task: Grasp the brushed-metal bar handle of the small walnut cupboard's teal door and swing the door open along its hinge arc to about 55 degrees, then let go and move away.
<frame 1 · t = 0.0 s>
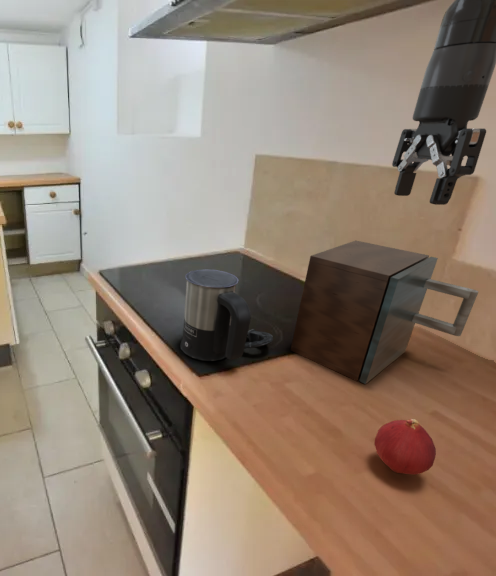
hand: (418, 199, 60), 29 cm above the worktop, tool pointing down, fingers open, 8 cm apart
door: (422, 326, 62), point 9 cm above the worktop, hinge at 0.0°
milk frother: (224, 348, 73), on the worktop
cupboard: (343, 349, 73), on the worktop
onion: (394, 471, 47), on the worktop
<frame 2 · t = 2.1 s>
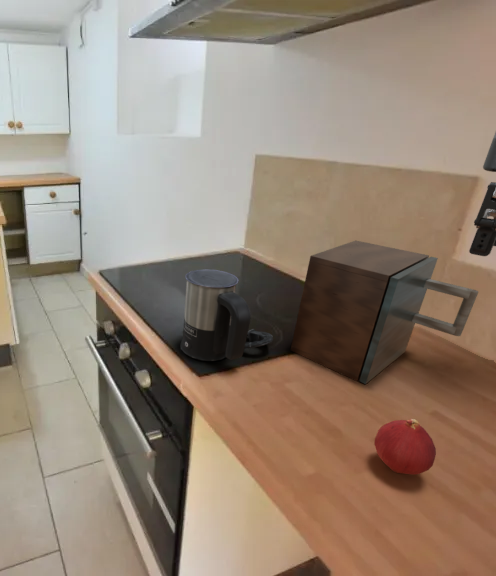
hand: (486, 249, 58), 22 cm above the worktop, tool pointing down, fingers open, 8 cm apart
nothing on the worktop moved.
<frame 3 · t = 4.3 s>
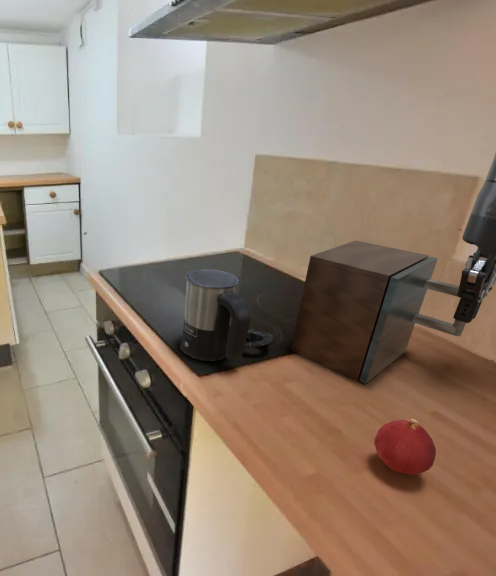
hand: (463, 318, 62), 10 cm above the worktop, tool pointing down, fingers closed
door: (422, 326, 62), point 9 cm above the worktop, hinge at 0.0°, touching gripper
everything else where it was.
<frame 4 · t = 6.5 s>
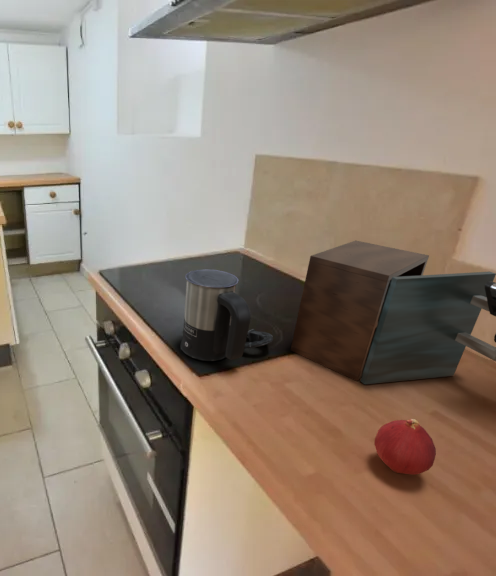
door: (444, 340, 58), point 9 cm above the worktop, hinge at 27.7°, touching gripper
everything else where it was.
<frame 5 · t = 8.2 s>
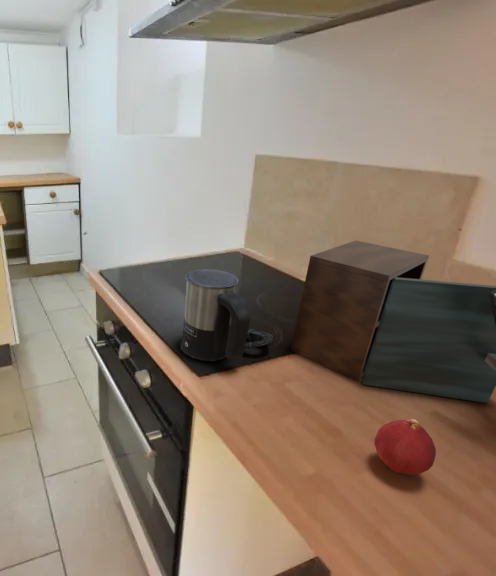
door: (453, 352, 54), point 9 cm above the worktop, hinge at 51.8°
everything else where it was.
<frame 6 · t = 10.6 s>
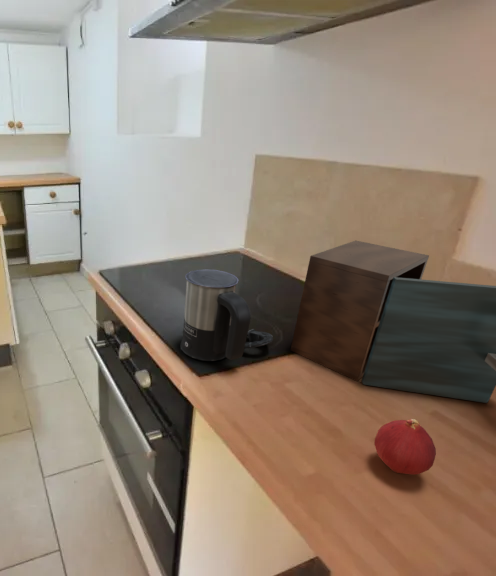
nothing on the worktop moved.
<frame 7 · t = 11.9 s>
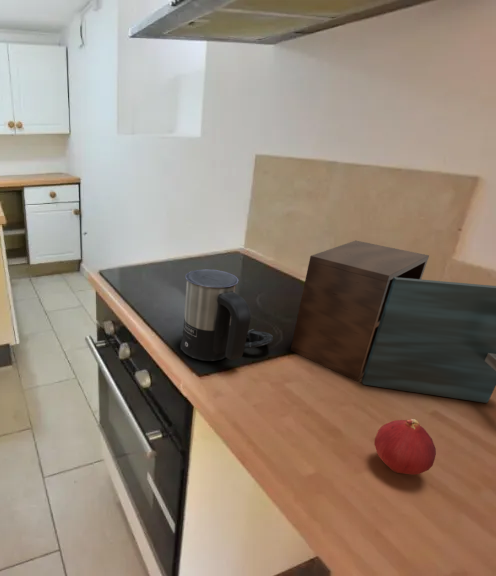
nothing on the worktop moved.
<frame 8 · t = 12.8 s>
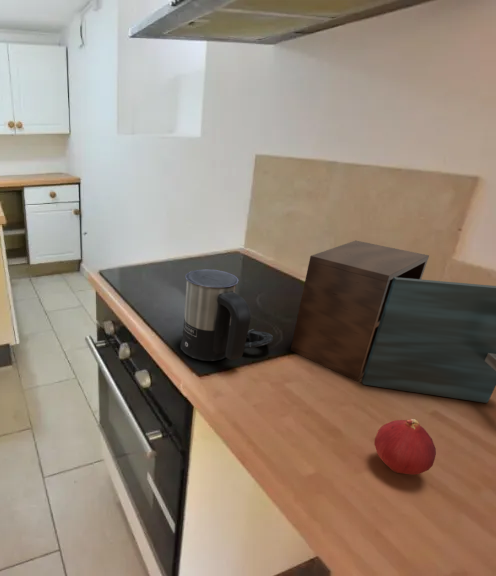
nothing on the worktop moved.
at the end: door at +52° (first picture: +0°); the gripper is holding nothing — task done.
